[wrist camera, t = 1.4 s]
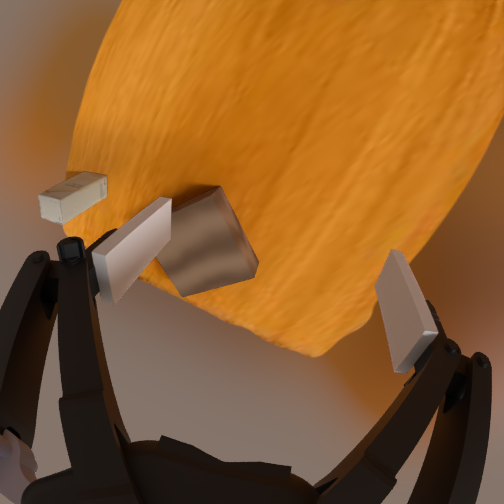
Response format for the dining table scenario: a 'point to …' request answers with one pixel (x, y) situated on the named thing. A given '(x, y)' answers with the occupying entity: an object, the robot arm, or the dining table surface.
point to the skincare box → (72, 197)
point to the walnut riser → (206, 246)
